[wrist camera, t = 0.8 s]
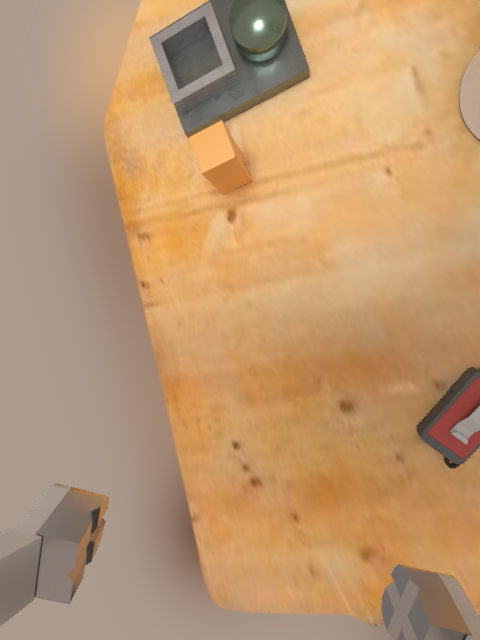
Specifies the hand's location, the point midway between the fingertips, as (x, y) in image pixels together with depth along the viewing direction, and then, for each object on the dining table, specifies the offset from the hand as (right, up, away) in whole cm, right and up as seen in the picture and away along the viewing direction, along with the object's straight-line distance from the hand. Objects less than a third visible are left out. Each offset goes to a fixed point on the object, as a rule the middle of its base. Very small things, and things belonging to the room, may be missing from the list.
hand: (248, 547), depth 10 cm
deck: (-2, +42, +39) cm, 57 cm away
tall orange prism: (-1, +27, +40) cm, 49 cm away
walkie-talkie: (+32, -4, +37) cm, 49 cm away
